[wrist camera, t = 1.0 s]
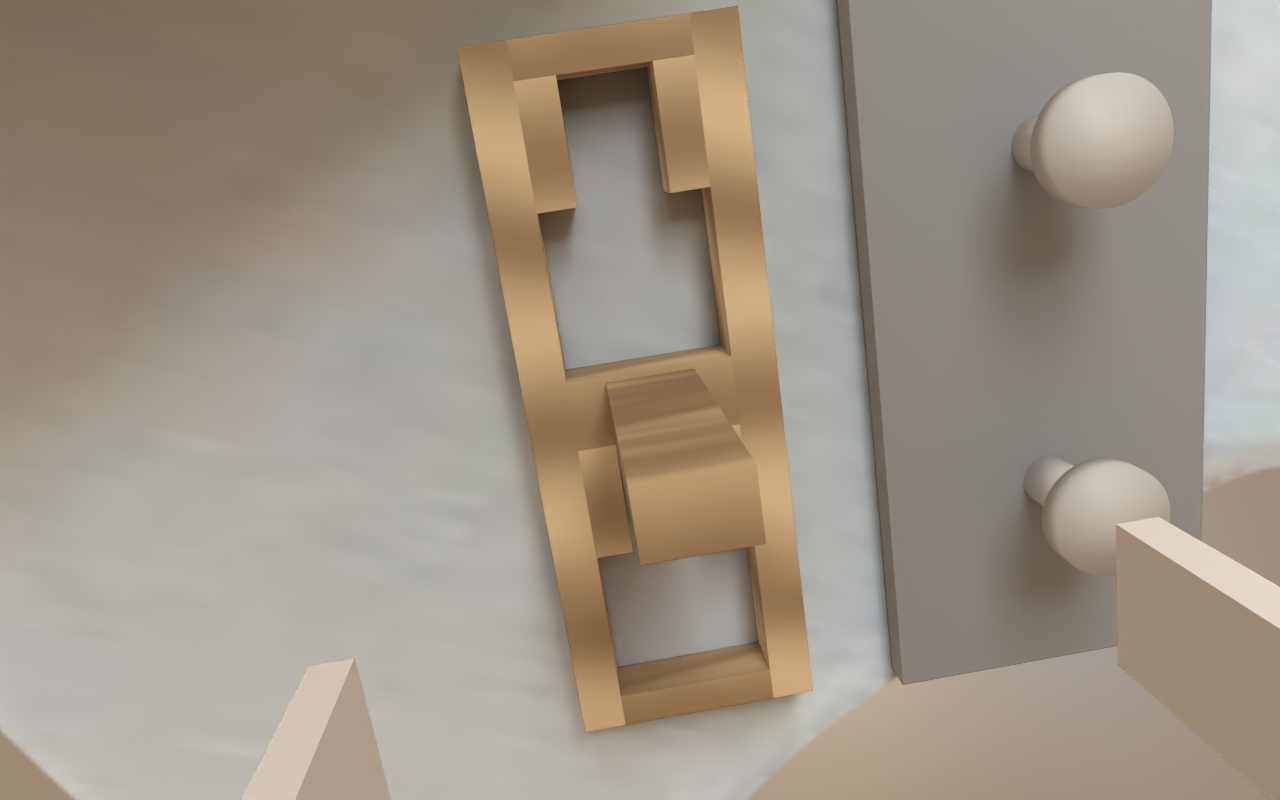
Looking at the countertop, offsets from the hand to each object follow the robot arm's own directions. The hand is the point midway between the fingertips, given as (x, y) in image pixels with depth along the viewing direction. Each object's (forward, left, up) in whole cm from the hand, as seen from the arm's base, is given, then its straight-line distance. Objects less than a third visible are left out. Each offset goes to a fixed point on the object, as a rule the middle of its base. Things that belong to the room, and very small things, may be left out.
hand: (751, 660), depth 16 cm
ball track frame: (0, 0, -18) cm, 18 cm away
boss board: (-1, +14, -18) cm, 23 cm away
